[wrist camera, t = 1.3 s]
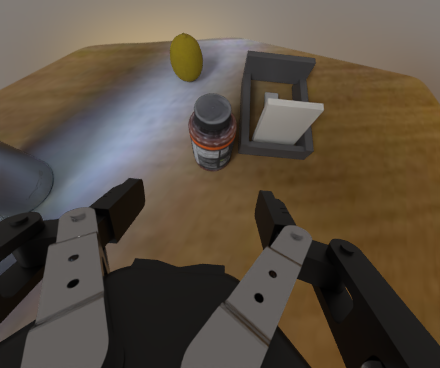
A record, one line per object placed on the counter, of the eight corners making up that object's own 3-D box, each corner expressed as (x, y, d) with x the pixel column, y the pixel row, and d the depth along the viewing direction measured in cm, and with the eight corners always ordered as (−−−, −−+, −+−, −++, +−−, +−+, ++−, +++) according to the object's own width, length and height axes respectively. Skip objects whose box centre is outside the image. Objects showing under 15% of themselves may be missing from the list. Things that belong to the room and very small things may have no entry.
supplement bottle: (205, 135, 30) (202, 77, 19) (235, 150, 29) (250, 98, 19) (187, 162, 28) (173, 115, 17) (219, 179, 28) (225, 140, 17)
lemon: (169, 82, 33) (157, 35, 26) (187, 65, 35) (180, 17, 27) (192, 96, 32) (186, 52, 25) (209, 78, 34) (208, 32, 26)
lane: (238, 153, 29) (244, 132, 23) (241, 82, 34) (247, 50, 28) (303, 159, 29) (325, 140, 24) (297, 88, 34) (315, 58, 29)
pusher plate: (251, 143, 30) (268, 104, 21) (252, 93, 33) (267, 42, 24) (291, 147, 30) (323, 110, 21) (288, 97, 33) (315, 48, 25)
